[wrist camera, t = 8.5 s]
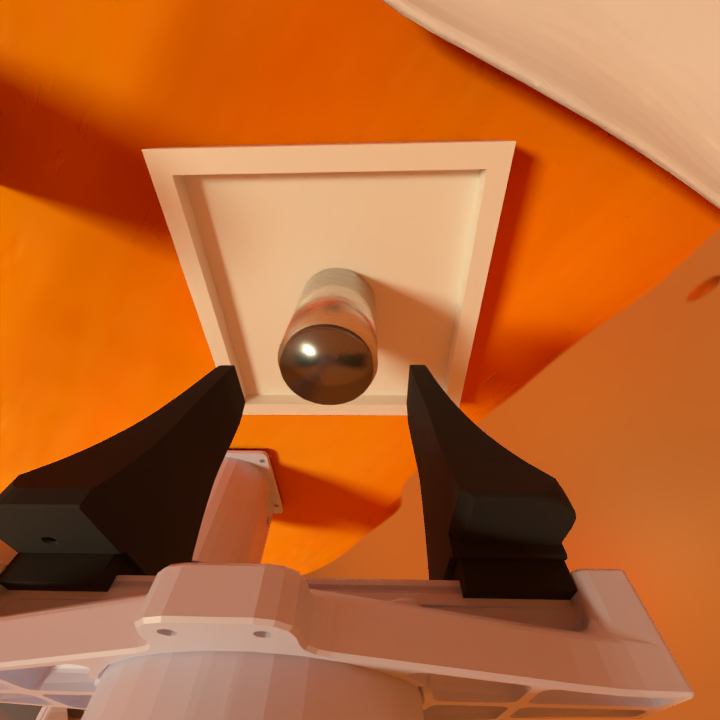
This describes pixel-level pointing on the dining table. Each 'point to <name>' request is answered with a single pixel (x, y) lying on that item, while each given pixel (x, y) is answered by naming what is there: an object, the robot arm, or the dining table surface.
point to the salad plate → (607, 67)
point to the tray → (336, 251)
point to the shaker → (331, 339)
